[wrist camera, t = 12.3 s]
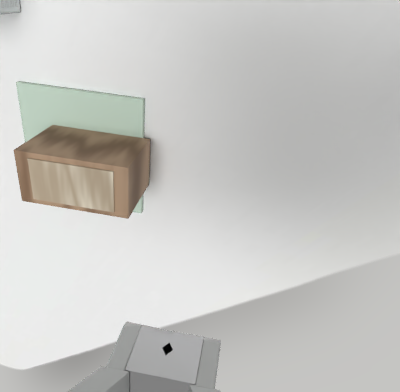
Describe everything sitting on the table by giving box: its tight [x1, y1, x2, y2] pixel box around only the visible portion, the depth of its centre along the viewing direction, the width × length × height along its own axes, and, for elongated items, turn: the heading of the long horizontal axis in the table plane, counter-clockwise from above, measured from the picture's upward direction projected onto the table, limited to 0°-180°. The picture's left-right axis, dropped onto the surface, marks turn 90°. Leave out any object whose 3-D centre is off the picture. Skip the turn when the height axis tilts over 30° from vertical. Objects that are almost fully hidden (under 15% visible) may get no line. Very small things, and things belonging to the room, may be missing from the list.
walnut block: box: [14, 125, 150, 218], centre depth 43 cm, size 8×6×12 cm
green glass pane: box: [16, 81, 145, 213], centre depth 47 cm, size 15×15×1 cm
